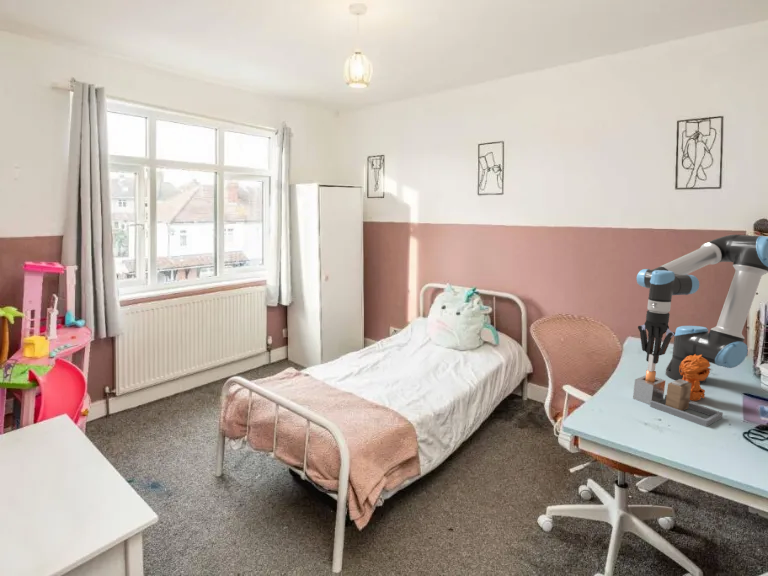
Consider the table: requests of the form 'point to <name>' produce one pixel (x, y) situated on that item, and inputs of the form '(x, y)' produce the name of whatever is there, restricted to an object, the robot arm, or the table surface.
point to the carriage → (678, 394)
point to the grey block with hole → (648, 390)
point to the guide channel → (705, 422)
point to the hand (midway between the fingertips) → (651, 370)
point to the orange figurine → (695, 374)
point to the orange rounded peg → (650, 376)
